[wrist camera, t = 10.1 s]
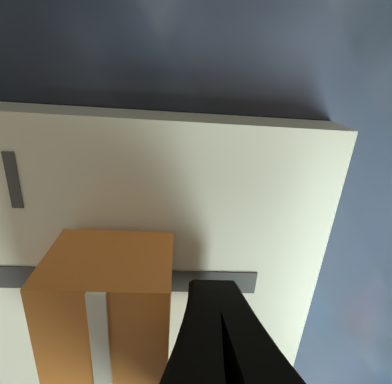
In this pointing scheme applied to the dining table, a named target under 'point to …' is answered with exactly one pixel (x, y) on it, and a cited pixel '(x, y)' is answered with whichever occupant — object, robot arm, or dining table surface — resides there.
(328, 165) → the board
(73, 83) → the dining table surface
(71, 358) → the fader orange
